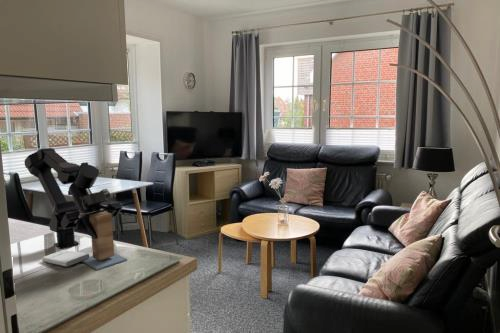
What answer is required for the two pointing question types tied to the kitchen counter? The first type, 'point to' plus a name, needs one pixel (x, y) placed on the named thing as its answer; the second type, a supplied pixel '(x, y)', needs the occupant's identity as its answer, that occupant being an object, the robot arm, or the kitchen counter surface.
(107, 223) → the walnut block
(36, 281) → the kitchen counter surface
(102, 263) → the rubber mat
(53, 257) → the external hard drive
